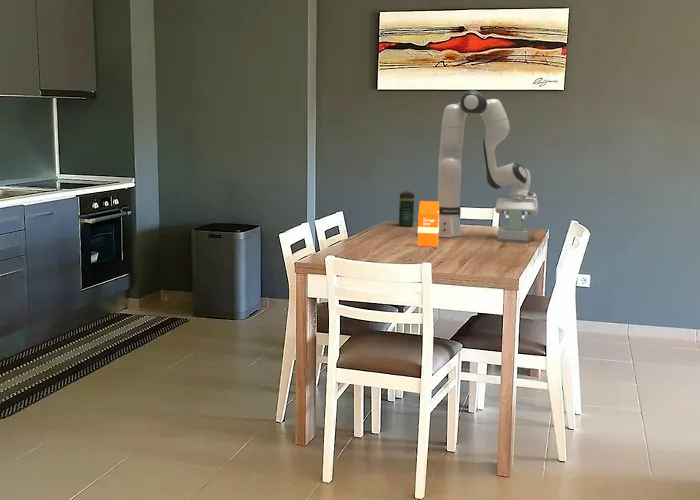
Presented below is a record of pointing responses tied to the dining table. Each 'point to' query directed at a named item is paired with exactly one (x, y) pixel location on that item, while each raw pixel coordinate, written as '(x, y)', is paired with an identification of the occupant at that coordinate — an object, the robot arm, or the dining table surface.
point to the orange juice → (428, 223)
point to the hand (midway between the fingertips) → (514, 219)
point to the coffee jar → (406, 209)
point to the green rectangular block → (514, 219)
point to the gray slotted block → (513, 235)
